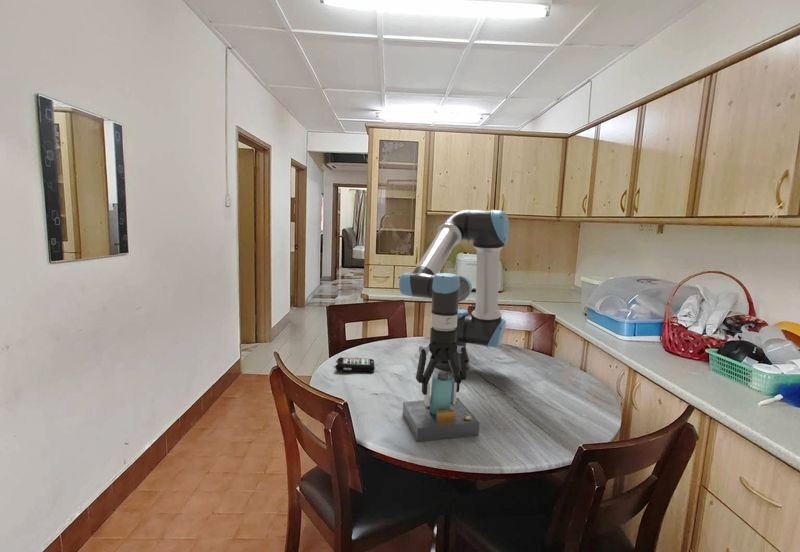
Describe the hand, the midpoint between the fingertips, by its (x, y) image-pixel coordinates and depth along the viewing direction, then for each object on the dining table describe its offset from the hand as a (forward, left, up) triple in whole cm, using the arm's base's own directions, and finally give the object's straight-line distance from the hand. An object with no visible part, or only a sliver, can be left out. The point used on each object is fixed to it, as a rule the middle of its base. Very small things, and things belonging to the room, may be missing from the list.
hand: (439, 403), depth 119 cm
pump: (0, 0, -3) cm, 3 cm away
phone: (+18, -49, -7) cm, 52 cm away
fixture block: (0, 0, -7) cm, 7 cm away
